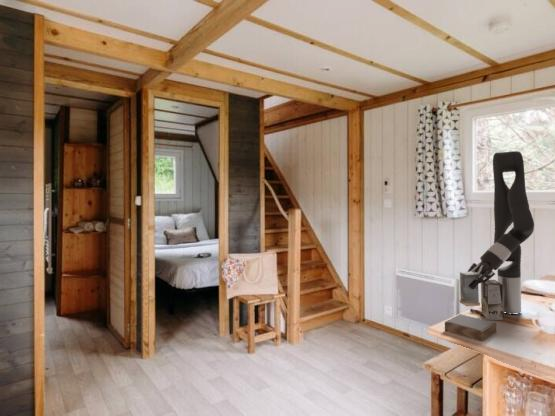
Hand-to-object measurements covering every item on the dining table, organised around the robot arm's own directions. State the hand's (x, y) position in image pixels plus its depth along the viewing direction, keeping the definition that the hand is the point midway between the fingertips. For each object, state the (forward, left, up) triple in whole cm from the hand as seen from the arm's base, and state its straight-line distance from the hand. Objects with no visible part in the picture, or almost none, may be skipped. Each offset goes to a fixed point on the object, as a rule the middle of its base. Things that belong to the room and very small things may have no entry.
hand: (467, 285), depth 153 cm
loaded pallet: (0, +1, -8) cm, 8 cm away
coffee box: (-15, +18, -20) cm, 31 cm away
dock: (0, +1, -19) cm, 19 cm away
